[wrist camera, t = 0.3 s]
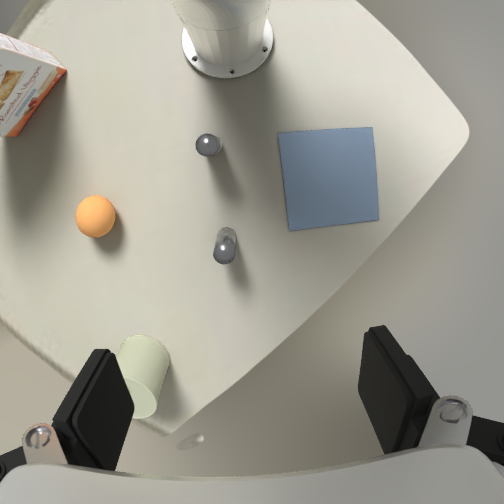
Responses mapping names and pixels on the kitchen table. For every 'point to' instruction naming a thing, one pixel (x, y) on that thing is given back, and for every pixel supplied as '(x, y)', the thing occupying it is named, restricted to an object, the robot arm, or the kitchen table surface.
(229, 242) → the outer post
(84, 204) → the ball
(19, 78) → the cracker box
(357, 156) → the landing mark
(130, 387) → the can
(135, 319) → the kitchen table surface
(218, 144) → the inner post
